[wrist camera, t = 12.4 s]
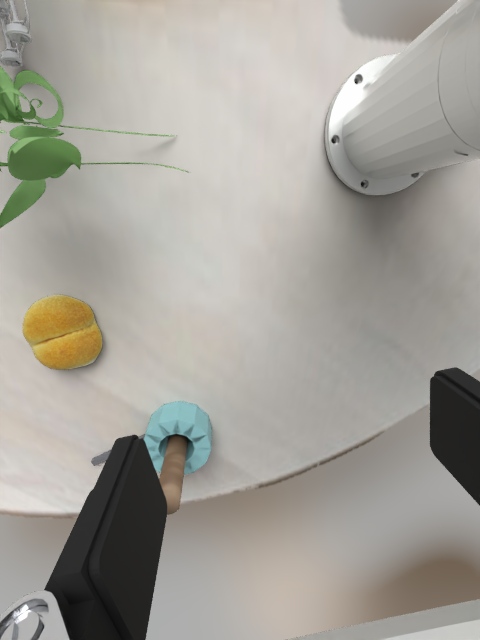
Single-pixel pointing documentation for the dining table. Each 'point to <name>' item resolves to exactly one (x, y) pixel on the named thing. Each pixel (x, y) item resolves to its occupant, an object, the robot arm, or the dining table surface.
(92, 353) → the bread roll
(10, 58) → the plant cuttings
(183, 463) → the round-ended wooden dowel
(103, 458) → the thin grey bar
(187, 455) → the bead
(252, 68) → the dining table surface
